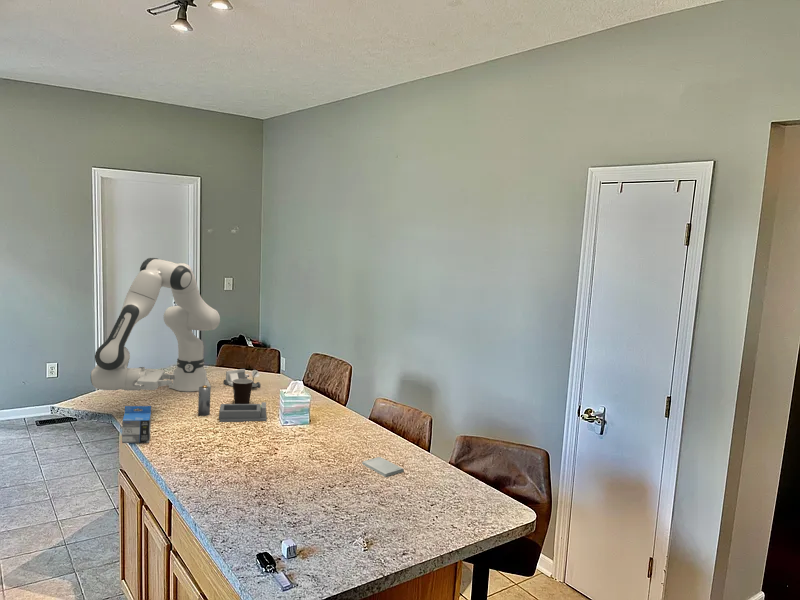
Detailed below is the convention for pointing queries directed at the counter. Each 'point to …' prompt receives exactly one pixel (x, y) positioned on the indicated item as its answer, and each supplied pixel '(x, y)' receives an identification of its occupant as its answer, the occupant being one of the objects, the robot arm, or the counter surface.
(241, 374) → the toy lunar rover
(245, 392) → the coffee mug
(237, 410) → the cradle
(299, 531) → the counter surface
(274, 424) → the counter surface
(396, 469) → the hard drive
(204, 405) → the cell
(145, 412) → the label tape cartridge
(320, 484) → the counter surface
